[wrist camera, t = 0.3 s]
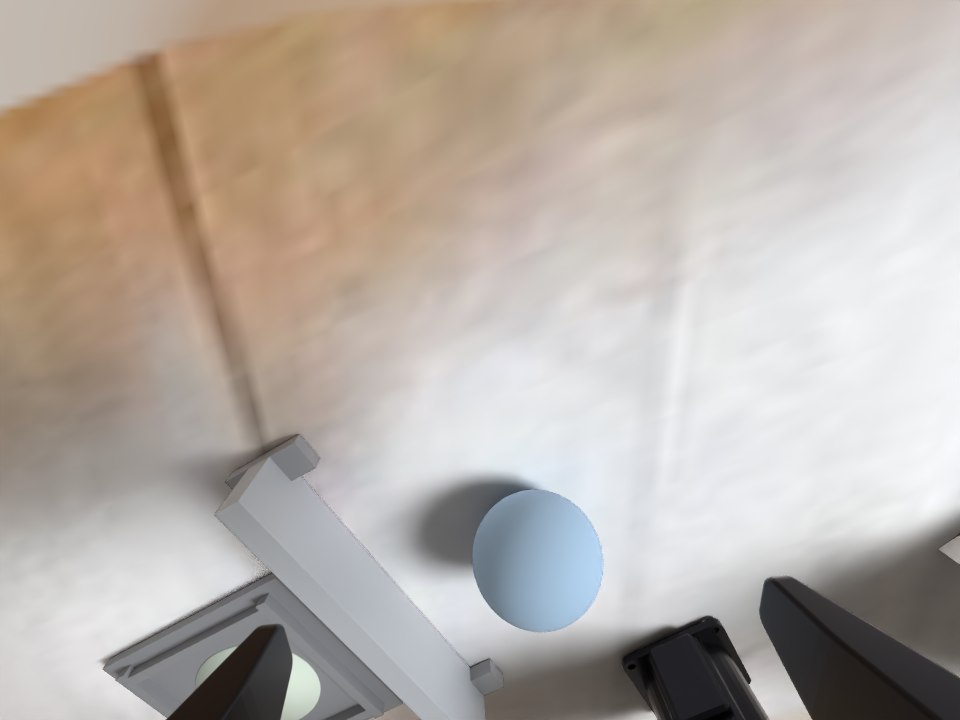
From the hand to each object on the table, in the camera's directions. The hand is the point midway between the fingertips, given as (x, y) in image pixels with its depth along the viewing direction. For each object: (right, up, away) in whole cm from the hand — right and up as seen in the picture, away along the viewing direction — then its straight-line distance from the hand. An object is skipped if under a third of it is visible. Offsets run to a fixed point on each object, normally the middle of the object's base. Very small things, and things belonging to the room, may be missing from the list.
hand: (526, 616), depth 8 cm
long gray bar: (-6, -8, +16) cm, 19 cm away
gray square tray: (-14, -14, +18) cm, 27 cm away
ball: (+2, -3, +15) cm, 16 cm away
